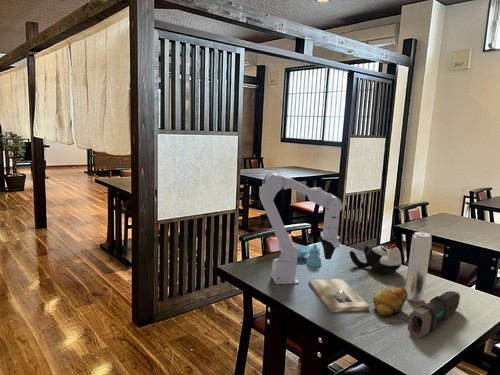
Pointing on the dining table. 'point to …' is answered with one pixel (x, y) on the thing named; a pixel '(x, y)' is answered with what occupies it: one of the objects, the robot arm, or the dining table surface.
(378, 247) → the toy
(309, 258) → the light blue lumpy shape
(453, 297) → the tube
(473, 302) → the dining table surface
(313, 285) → the ash board
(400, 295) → the bread roll
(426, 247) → the silver cylinder
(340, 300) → the steel ball
